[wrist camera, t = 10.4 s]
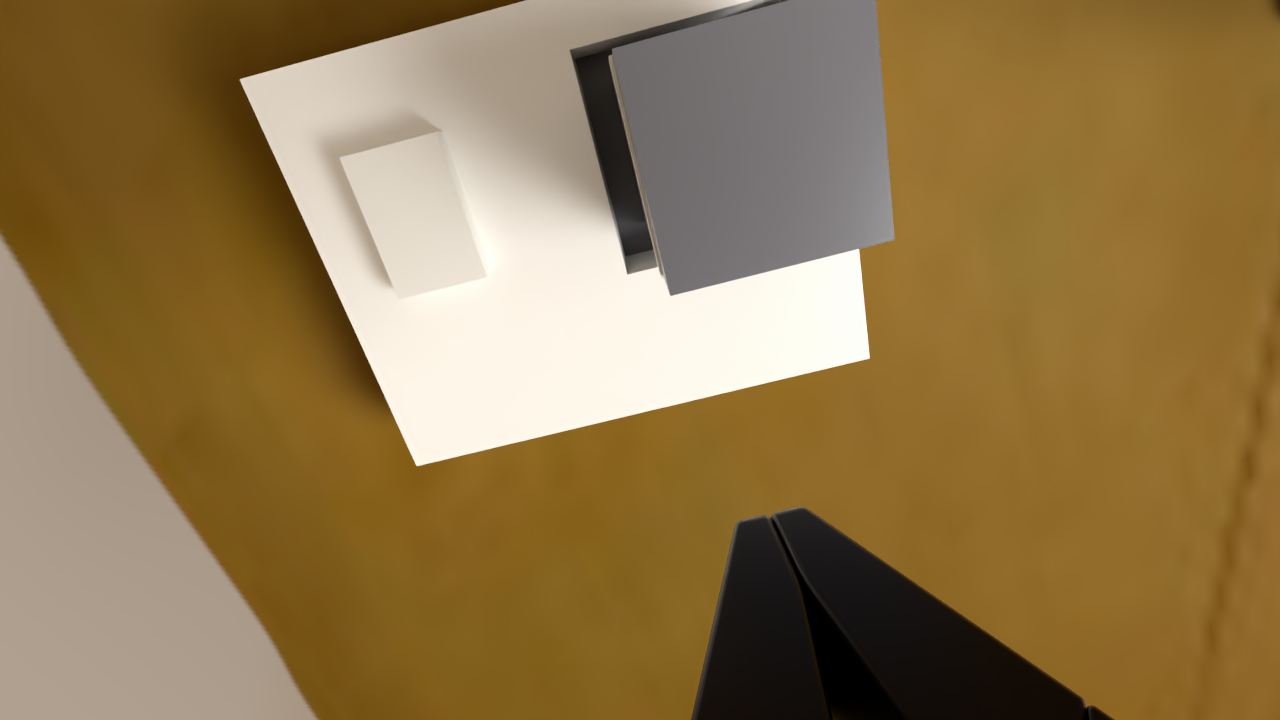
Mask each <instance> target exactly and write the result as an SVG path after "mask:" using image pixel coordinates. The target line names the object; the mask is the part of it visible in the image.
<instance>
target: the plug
mask: <svg viewBox="0 0 1280 720" xmlns="http://www.w3.org/2000/svg"><path fill="white" fill-rule="evenodd" d="M609 64H610V68H611V73H612V84H613V89H614V93H615V97H616V101H617V105H618V109H619V114H620V118H621V122H622V126H623V130H624V134H625V139H626V143H627V147H628V151H629V155H630V159H631V164H632V168H633V172H634V176H635V180H636V184H637V189H638V193H639V197H640V201H641V205H642V209H643V214H644V218H645V222H646V225H647V228H648V231H649V234H650V237H651V240H652V244H653V249H654V253H655V257H656V261H657V265H658V269H659V272H660V275H661V278H664V279H665V282H666V285H667V288H668V291H669V294H670V296H673V295H677V294H681V293H685V292H689V291H693V290H697V289H701V288H705V287H709V286H713V285H717V284H721V283H725V282H729V281H733V280H737V279H741V278H745V277H749V276H753V275H757V274H761V273H765V272H769V271H773V270H777V269H780V268H784V267H788V266H792V265H796V264H800V263H804V262H808V261H812V260H816V259H820V258H824V257H828V256H832V255H836V254H840V253H844V252H848V251H852V250H856V249H860V248H864V247H868V246H872V245H876V244H880V243H884V242H888V241H892V240H895V239H894V226H893V213H892V201H891V188H890V175H889V162H888V149H887V137H886V124H885V111H884V98H883V85H882V72H881V60H880V47H879V34H878V21H877V8H876V0H788V1H784V2H781V3H777V4H773V5H770V6H766V7H762V8H759V9H755V10H752V11H748V12H744V13H741V14H737V15H733V16H730V17H726V18H722V19H719V20H715V21H711V22H708V23H704V24H700V25H697V26H693V27H689V28H686V29H682V30H678V31H675V32H671V33H667V34H664V35H660V36H656V37H653V38H649V39H645V40H642V41H638V42H635V43H631V44H627V45H624V46H620V47H616V48H613V49H612V55H609Z"/></svg>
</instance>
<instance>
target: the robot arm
mask: <svg viewBox="0 0 1280 720" xmlns="http://www.w3.org/2000/svg"><path fill="white" fill-rule="evenodd" d="M691 720H1114V719H1113V718H1111V717H1110V716H1108V715H1107V714H1106V713H1104V712H1103V711H1101V710H1100V709H1098V708H1097V707H1095V706H1092V705H1091V706H1088V707H1087V708H1086V705H1085V701H1084V699H1083V698H1082V697H1080V696H1079V695H1077V694H1076V693H1074V692H1073V691H1072V690H1070V689H1069V688H1067V687H1066V686H1064V685H1063V684H1061V683H1060V682H1058V681H1057V680H1056V679H1054V678H1053V677H1051V676H1050V675H1048V674H1047V673H1045V672H1044V671H1042V670H1041V669H1040V668H1038V667H1037V666H1035V665H1034V664H1032V663H1031V662H1029V661H1028V660H1026V659H1025V658H1024V657H1022V656H1021V655H1019V654H1018V653H1016V652H1015V651H1013V650H1012V649H1010V648H1009V647H1008V646H1006V645H1005V644H1003V643H1002V642H1000V641H999V640H997V639H996V638H994V637H993V636H992V635H990V634H989V633H987V632H986V631H984V630H983V629H981V628H980V627H978V626H977V625H976V624H974V623H973V622H971V621H970V620H968V619H967V618H965V617H964V616H962V615H961V614H960V613H958V612H957V611H955V610H954V609H952V608H951V607H949V606H948V605H946V604H945V603H944V602H942V601H941V600H939V599H938V598H936V597H935V596H933V595H932V594H931V593H929V592H928V591H926V590H925V589H923V588H922V587H920V586H919V585H917V584H916V583H915V582H913V581H912V580H910V579H909V578H907V577H906V576H904V575H903V574H901V573H900V572H899V571H897V570H896V569H894V568H893V567H891V566H890V565H888V564H887V563H885V562H884V561H883V560H881V559H880V558H878V557H877V556H875V555H874V554H872V553H871V552H869V551H868V550H867V549H865V548H864V547H862V546H861V545H859V544H858V543H856V542H855V541H853V540H852V539H851V538H849V537H848V536H846V535H845V534H843V533H842V532H840V531H839V530H837V529H836V528H835V527H833V526H832V525H830V524H829V523H827V522H826V521H824V520H823V519H821V518H820V517H819V516H817V515H816V514H814V513H813V512H811V511H810V510H808V509H807V508H804V507H797V508H792V509H788V510H784V511H779V512H775V513H774V514H773V515H772V517H771V518H770V517H768V516H766V515H762V516H757V517H753V518H748V519H744V520H740V521H738V522H737V523H736V525H735V528H734V532H733V537H732V541H731V546H730V550H729V554H728V559H727V563H726V568H725V572H724V577H723V581H722V585H721V590H720V594H719V599H718V603H717V608H716V612H715V616H714V621H713V625H712V630H711V634H710V639H709V643H708V647H707V652H706V656H705V661H704V665H703V670H702V674H701V678H700V683H699V687H698V692H697V696H696V700H695V705H694V709H693V714H692V718H691Z"/></svg>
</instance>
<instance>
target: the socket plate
mask: <svg viewBox="0 0 1280 720" xmlns="http://www.w3.org/2000/svg"><path fill="white" fill-rule="evenodd" d="M784 1H788V0H525V1H522V2H518V3H514V4H511V5H507V6H503V7H500V8H496V9H493V10H489V11H485V12H482V13H478V14H474V15H471V16H467V17H463V18H460V19H456V20H453V21H449V22H445V23H442V24H438V25H434V26H431V27H427V28H424V29H420V30H416V31H413V32H409V33H405V34H402V35H398V36H394V37H391V38H387V39H384V40H380V41H376V42H373V43H369V44H365V45H362V46H358V47H355V48H351V49H347V50H344V51H340V52H336V53H333V54H329V55H325V56H322V57H318V58H315V59H311V60H307V61H304V62H300V63H296V64H293V65H289V66H286V67H282V68H278V69H275V70H271V71H267V72H264V73H260V74H256V75H253V76H249V77H246V78H242V79H239V80H240V82H241V84H242V86H243V88H244V91H245V93H246V95H247V97H248V99H249V102H250V104H251V106H252V108H253V110H254V112H255V115H256V117H257V119H258V121H259V123H260V126H261V128H262V130H263V132H264V134H265V136H266V139H267V141H268V143H269V145H270V147H271V150H272V152H273V154H274V156H275V158H276V160H277V163H278V165H279V167H280V169H281V171H282V174H283V176H284V178H285V180H286V182H287V184H288V187H289V189H290V191H291V193H292V195H293V197H294V200H295V202H296V204H297V206H298V208H299V211H300V213H301V215H302V217H303V219H304V221H305V224H306V226H307V228H308V230H309V232H310V235H311V237H312V239H313V241H314V243H315V245H316V248H317V250H318V252H319V254H320V256H321V259H322V261H323V263H324V265H325V267H326V269H327V272H328V274H329V276H330V278H331V280H332V283H333V285H334V287H335V289H336V291H337V293H338V296H339V298H340V300H341V302H342V304H343V307H344V309H345V311H346V313H347V315H348V317H349V320H350V322H351V324H352V326H353V328H354V331H355V333H356V335H357V337H358V339H359V341H360V344H361V346H362V348H363V350H364V352H365V355H366V357H367V359H368V361H369V363H370V365H371V368H372V370H373V372H374V374H375V376H376V379H377V381H378V383H379V385H380V387H381V389H382V392H383V394H384V396H385V398H386V400H387V403H388V405H389V407H390V409H391V411H392V413H393V416H394V418H395V420H396V422H397V424H398V427H399V429H400V431H401V433H402V435H403V437H404V440H405V442H406V444H407V446H408V448H409V451H410V453H411V455H412V457H413V459H414V461H415V464H416V466H419V465H423V464H428V463H432V462H436V461H440V460H444V459H449V458H453V457H457V456H461V455H466V454H470V453H474V452H478V451H482V450H487V449H491V448H495V447H499V446H503V445H508V444H512V443H516V442H520V441H524V440H529V439H533V438H537V437H541V436H545V435H550V434H554V433H558V432H562V431H566V430H571V429H575V428H579V427H583V426H587V425H592V424H596V423H600V422H604V421H608V420H613V419H617V418H621V417H625V416H629V415H634V414H638V413H642V412H646V411H650V410H655V409H659V408H663V407H667V406H671V405H676V404H680V403H684V402H688V401H693V400H697V399H701V398H705V397H709V396H714V395H718V394H722V393H726V392H730V391H735V390H739V389H743V388H747V387H751V386H756V385H760V384H764V383H768V382H772V381H777V380H781V379H785V378H789V377H793V376H798V375H802V374H806V373H810V372H814V371H819V370H823V369H827V368H831V367H835V366H840V365H844V364H848V363H852V362H856V361H861V360H865V359H869V358H870V357H869V347H868V336H867V326H866V316H865V306H864V296H863V286H862V275H861V265H860V255H859V249H856V250H852V251H848V252H844V253H840V254H836V255H832V256H828V257H824V258H820V259H816V260H812V261H808V262H804V263H800V264H796V265H792V266H788V267H784V268H780V269H777V270H773V271H769V272H765V273H761V274H757V275H753V276H749V277H745V278H741V279H737V280H733V281H729V282H725V283H721V284H717V285H713V286H709V287H705V288H701V289H697V290H693V291H689V292H685V293H681V294H677V295H673V296H670V294H669V291H668V288H667V285H666V282H665V279H664V278H661V275H660V272H659V269H658V265H657V261H656V257H655V253H654V249H653V244H652V240H651V237H650V234H649V231H648V228H647V225H646V222H645V218H644V214H643V209H642V205H641V201H640V197H639V193H638V189H637V184H636V180H635V176H634V172H633V168H632V164H631V159H630V155H629V151H628V147H627V143H626V139H625V134H624V130H623V126H622V122H621V118H620V114H619V109H618V105H617V101H616V97H615V93H614V89H613V84H612V73H611V68H610V64H609V55H612V49H613V48H616V47H620V46H624V45H627V44H631V43H635V42H638V41H642V40H645V39H649V38H653V37H656V36H660V35H664V34H667V33H671V32H675V31H678V30H682V29H686V28H689V27H693V26H697V25H700V24H704V23H708V22H711V21H715V20H719V19H722V18H726V17H730V16H733V15H737V14H741V13H744V12H748V11H752V10H755V9H759V8H762V7H766V6H770V5H773V4H777V3H781V2H784Z"/></svg>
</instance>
